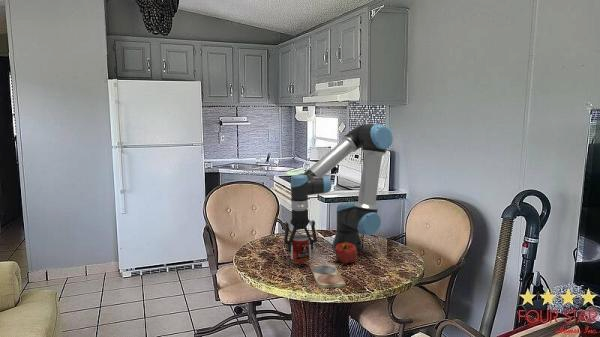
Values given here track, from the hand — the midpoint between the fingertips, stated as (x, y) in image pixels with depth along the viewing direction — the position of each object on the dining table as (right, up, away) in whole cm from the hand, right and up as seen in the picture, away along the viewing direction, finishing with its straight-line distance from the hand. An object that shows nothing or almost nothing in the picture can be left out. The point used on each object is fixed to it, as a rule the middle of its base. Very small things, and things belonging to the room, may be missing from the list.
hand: (300, 257), depth 195 cm
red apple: (+21, -3, +4) cm, 22 cm away
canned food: (0, -1, 0) cm, 1 cm away
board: (+11, -5, -14) cm, 19 cm away
